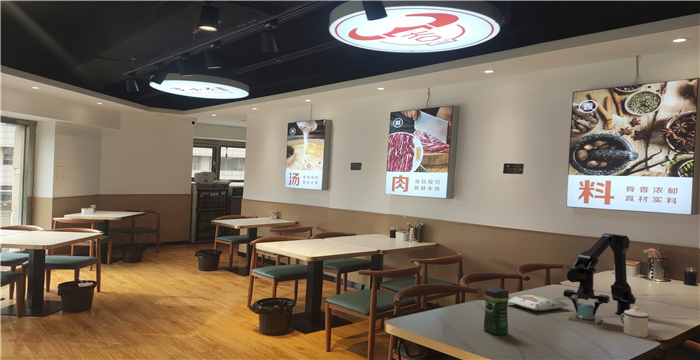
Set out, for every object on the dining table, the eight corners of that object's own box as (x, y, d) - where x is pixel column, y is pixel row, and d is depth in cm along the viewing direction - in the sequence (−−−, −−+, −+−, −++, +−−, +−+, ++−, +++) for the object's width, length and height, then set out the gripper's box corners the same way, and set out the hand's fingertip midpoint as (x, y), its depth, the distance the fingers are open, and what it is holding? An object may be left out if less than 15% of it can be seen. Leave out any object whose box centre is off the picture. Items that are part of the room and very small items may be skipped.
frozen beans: (570, 298, 233) (535, 302, 222) (570, 310, 232) (534, 314, 221) (537, 291, 251) (503, 294, 240) (537, 302, 251) (503, 305, 240)
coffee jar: (511, 334, 189) (512, 289, 190) (496, 336, 186) (498, 290, 186) (494, 327, 198) (496, 284, 199) (480, 329, 195) (481, 285, 195)
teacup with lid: (653, 337, 193) (654, 309, 193) (637, 338, 190) (638, 310, 191) (628, 328, 205) (628, 302, 205) (612, 329, 202) (613, 303, 202)
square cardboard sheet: (574, 314, 225) (574, 304, 225) (602, 319, 217) (602, 309, 217) (568, 319, 215) (568, 309, 215) (597, 325, 208) (597, 314, 208)
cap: (579, 312, 221) (579, 302, 221) (594, 315, 217) (594, 305, 217) (576, 315, 216) (576, 304, 216) (591, 318, 212) (591, 307, 212)
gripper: (560, 280, 216) (559, 313, 216) (605, 286, 204) (604, 322, 204) (566, 277, 225) (565, 309, 225) (610, 283, 213) (609, 317, 213)
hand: (585, 314), depth 216 cm, fingers open, 7 cm apart
